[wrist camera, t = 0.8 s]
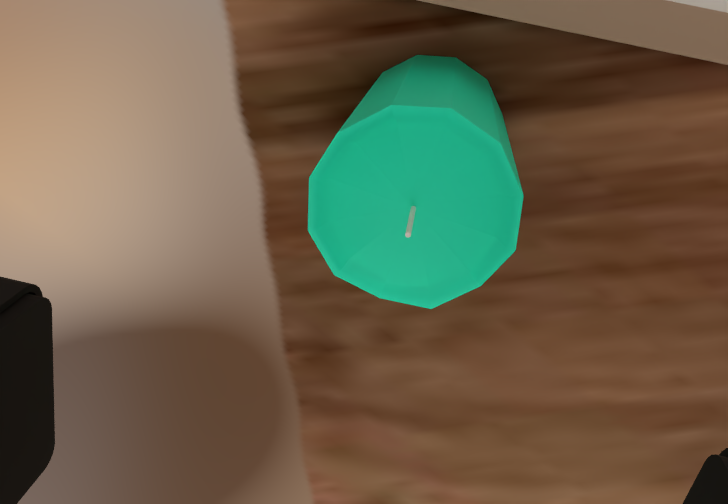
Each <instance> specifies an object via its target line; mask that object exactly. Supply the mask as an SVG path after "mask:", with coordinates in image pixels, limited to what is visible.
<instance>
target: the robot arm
mask: <svg viewBox="0 0 728 504" xmlns="http://www.w3.org/2000/svg"><path fill="white" fill-rule="evenodd" d="M52 342H53V341H52V307H51V303H50V301H49V299H47V298H44V297H43V296H42V292H41V290H40V288H39V287H38V286H36V285H34V284H29V283H25V282H21V281H17V280H12V279H8V278H4V277H0V504H17V503H18V501H19V500H20V499H21V498H22V497H23V495H24V494H25V493H26V492H27V490H28V489H29V488H30V487H31V486H32V484H33V483H34V482H35V481H36V479H37V478H38V477H39V476H40V475H41V473H42V472H43V471H44V470H45V468H46V467H47V465H48V463H49V461H50V459H51V456H52V454H53V450H54V444H55V431H54V387H53V343H52ZM683 504H728V448H726V449H725V450H723V451H722V452H721V453H720V455H711V456H709V457H708V458H707V460H706V461H705V463H704V464H703V466H702V468H701V470H700V472H699V474H698V476H697V478H696V479H695V481H694V483H693V485H692V487H691V489H690V491H689V493H688V495H687V496H686V498H685V500H684V502H683Z"/></svg>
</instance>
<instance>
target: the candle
mask: <svg viewBox="0 0 728 504" xmlns="http://www.w3.org/2000/svg"><path fill="white" fill-rule="evenodd" d="M523 197H524V195H523V191H522V188H521V184H520V180H519V176H518V172H517V168H516V165H515V161H514V157H513V153H512V149H511V145H510V142H509V138H508V134H507V130H506V126H505V122H504V119H503V115H502V112H501V110H500V108H499V105H498V103H497V101H496V98H495V96H494V94H493V91H492V89H491V87H490V84H489V82H488V80H487V79H486V78H484V77H483V76H482V75H480V74H479V73H477V72H476V71H474V70H473V69H472V68H470V67H469V66H467V65H466V64H465V63H463V62H462V61H460V60H459V59H457V58H456V57H443V56H428V55H416V56H414V57H412V58H410V59H408V60H406V61H404V62H402V63H400V64H398V65H396V66H394V67H392V68H390V69H388V70H386V71H384V72H383V73H382V74H381V75H380V77H379V78H378V79H377V81H376V82H375V83H374V85H373V86H372V87H371V89H370V90H369V91H368V93H367V94H366V95H365V97H364V98H363V99H362V101H361V102H360V103H359V105H358V106H357V107H356V109H355V110H354V111H353V113H352V114H351V115H350V117H349V118H348V119H347V121H346V122H345V123H344V125H343V126H342V127H341V129H340V130H339V131H338V133H337V134H336V136H335V137H334V139H333V141H332V142H331V144H330V145H329V147H328V148H327V150H326V152H325V153H324V155H323V156H322V158H321V159H320V161H319V163H318V164H317V166H316V167H315V169H314V170H313V172H312V174H311V175H310V177H309V200H308V232H309V234H310V235H311V237H312V239H313V240H314V242H315V244H316V245H317V247H318V249H319V251H320V252H321V254H322V256H323V257H324V259H325V261H326V262H327V264H328V266H329V267H330V269H331V271H332V272H333V274H334V275H335V276H337V277H339V278H341V279H343V280H345V281H347V282H349V283H351V284H353V285H355V286H357V287H359V288H361V289H363V290H365V291H367V292H369V293H371V294H373V295H375V296H377V297H378V298H382V299H386V300H391V301H396V302H400V303H405V304H410V305H414V306H419V307H424V308H429V309H432V308H435V307H437V306H439V305H441V304H443V303H445V302H448V301H450V300H452V299H454V298H456V297H458V296H461V295H463V294H465V293H467V292H469V291H471V290H474V289H476V288H478V287H480V286H481V285H482V284H483V283H484V282H485V281H486V280H487V279H488V278H489V277H490V276H491V275H492V274H493V273H494V272H495V271H496V270H497V269H498V268H499V267H500V266H501V265H502V264H503V263H504V262H505V261H506V260H507V259H508V258H509V257H510V256H511V255H512V254H513V253H514V252H515V251H516V244H517V238H518V231H519V224H520V217H521V210H522V204H523Z"/></svg>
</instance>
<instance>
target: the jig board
mask: <svg viewBox="0 0 728 504" xmlns="http://www.w3.org/2000/svg"><path fill="white" fill-rule="evenodd" d="M418 1H423V2H428V3H433V4H438V5H442V6H447V7H452V8H457V9H462V10H466V11H471V12H476V13H481V14H486V15H490V16H495V17H500V18H505V19H510V20H514V21H519V22H524V23H529V24H534V25H538V26H543V27H548V28H553V29H558V30H562V31H567V32H572V33H577V34H582V35H586V36H591V37H596V38H601V39H606V40H610V41H615V42H620V43H625V44H630V45H634V46H639V47H644V48H649V49H654V50H658V51H663V52H668V53H673V54H678V55H683V56H687V57H692V58H697V59H702V60H707V61H711V62H716V63H721V64H726V65H728V0H418Z"/></svg>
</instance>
